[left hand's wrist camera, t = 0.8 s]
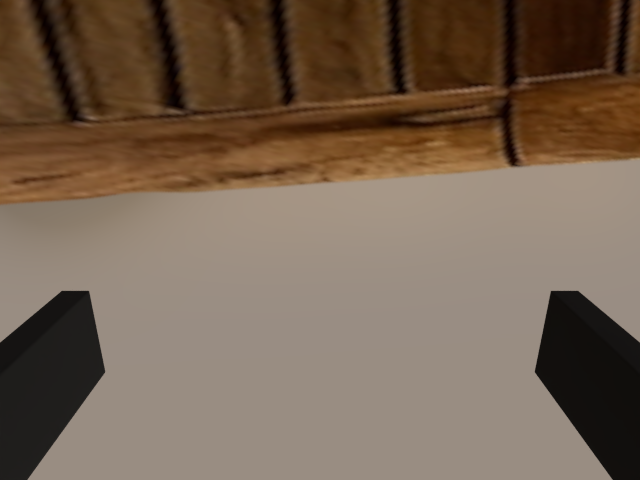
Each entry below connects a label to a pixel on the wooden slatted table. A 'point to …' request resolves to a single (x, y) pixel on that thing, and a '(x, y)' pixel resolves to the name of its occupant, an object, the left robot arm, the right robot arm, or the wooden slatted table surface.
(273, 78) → the wooden slatted table surface
